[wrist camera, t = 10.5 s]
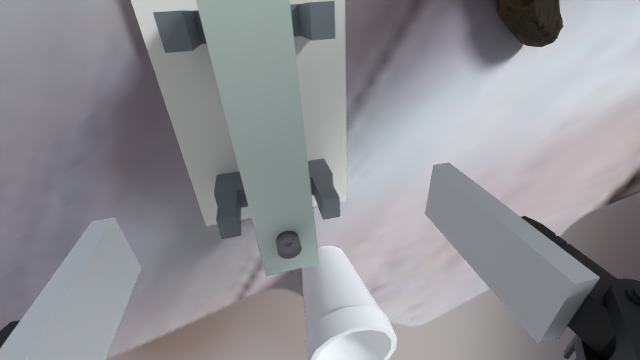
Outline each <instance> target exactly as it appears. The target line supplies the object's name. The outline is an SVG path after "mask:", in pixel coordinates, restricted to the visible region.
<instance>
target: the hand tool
mask: <svg viewBox="0 0 640 360" xmlns="http://www.w3.org/2000/svg"><path fill="white" fill-rule="evenodd" d="M498 1H499V5H498V8H497V12H498V14H499V16H500V17H501V19H502V21H503V22H504V24H505V25H506V26H507V27H508V29H509V30H510V31H511V32H512V33H513V34H514V35H515V36H516V37H517V38H518V39H519V40H520V41H521V42H522V43H523V44H525V45H527V46H534V47H543V46H545V45H548V44H551V43H553V42H554V41H555V40H556V39H557V37H558V35H559V32H560V30H561V29H562V27H563V22H562V17H561V14H560V7H559V0H498Z"/></svg>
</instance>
